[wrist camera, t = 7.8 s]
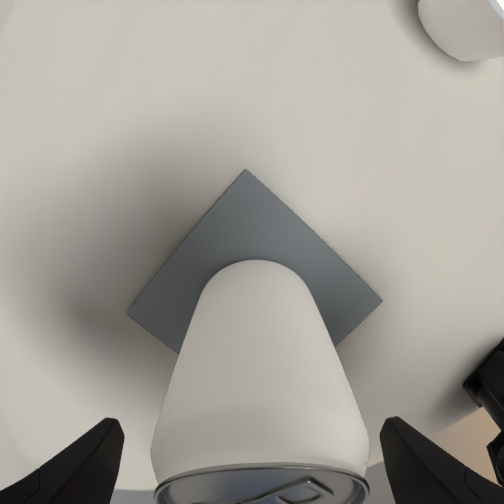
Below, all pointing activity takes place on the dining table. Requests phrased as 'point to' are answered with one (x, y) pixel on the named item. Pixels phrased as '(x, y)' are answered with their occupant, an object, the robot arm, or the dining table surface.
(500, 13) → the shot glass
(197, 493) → the can
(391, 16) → the dining table surface
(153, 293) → the slate mat
